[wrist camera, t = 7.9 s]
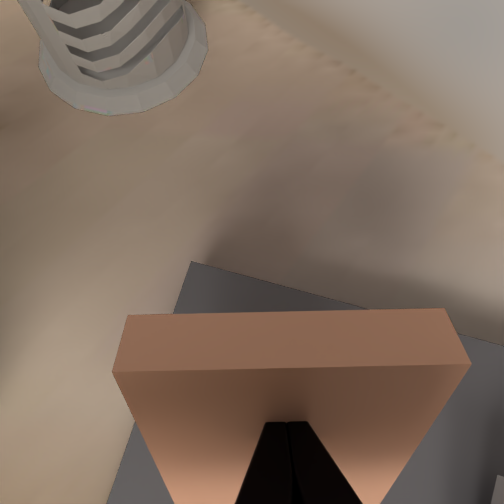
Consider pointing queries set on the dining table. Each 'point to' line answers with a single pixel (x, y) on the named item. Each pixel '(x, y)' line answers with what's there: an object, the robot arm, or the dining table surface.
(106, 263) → the dining table surface
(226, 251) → the dining table surface
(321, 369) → the tan rectangular board
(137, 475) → the control console
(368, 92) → the dining table surface
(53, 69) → the french press
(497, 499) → the rocker switch
